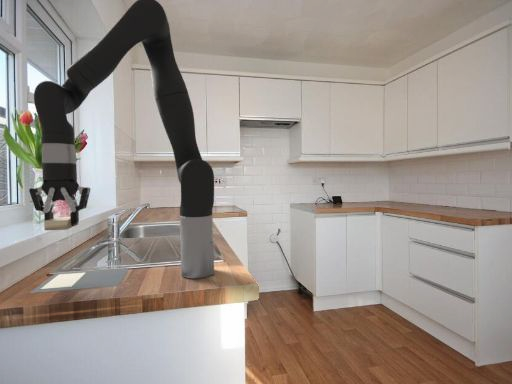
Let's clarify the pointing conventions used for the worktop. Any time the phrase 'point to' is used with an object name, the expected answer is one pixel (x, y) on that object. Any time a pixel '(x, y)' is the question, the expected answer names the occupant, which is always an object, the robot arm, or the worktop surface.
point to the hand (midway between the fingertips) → (62, 225)
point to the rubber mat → (82, 280)
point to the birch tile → (58, 223)
